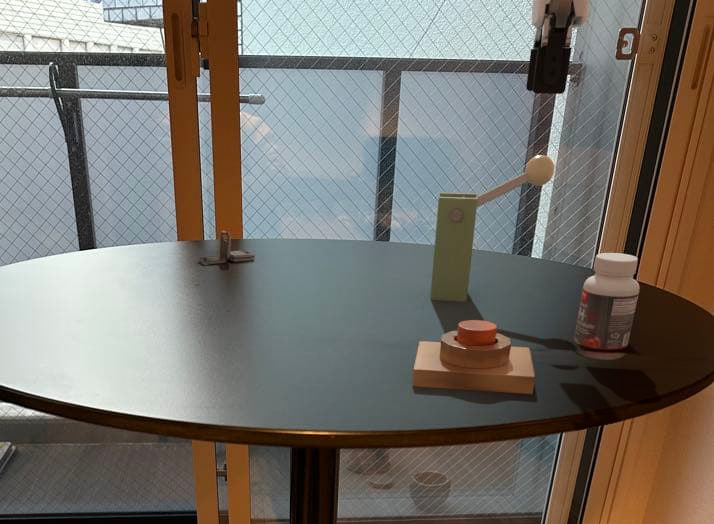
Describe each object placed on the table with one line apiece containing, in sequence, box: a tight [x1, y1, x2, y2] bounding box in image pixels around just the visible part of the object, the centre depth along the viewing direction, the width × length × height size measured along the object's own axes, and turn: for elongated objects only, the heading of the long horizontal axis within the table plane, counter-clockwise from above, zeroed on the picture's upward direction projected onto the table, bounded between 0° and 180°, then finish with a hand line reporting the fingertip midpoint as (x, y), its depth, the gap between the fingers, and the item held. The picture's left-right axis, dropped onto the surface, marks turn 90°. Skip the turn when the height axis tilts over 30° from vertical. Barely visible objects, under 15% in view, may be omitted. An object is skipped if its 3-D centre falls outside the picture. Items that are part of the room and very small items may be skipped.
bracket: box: [429, 191, 478, 303], centre depth 97 cm, size 12×9×13 cm
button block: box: [411, 329, 536, 395], centre depth 77 cm, size 11×9×4 cm
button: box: [456, 319, 498, 346], centre depth 76 cm, size 4×4×2 cm
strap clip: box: [197, 230, 256, 265], centre depth 121 cm, size 8×3×4 cm, turn 118°
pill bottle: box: [573, 252, 641, 361], centre depth 82 cm, size 5×5×10 cm
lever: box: [462, 154, 555, 208], centre depth 93 cm, size 13×3×3 cm, turn 80°
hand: (544, 92), depth 86 cm, fingers open, 9 cm apart
